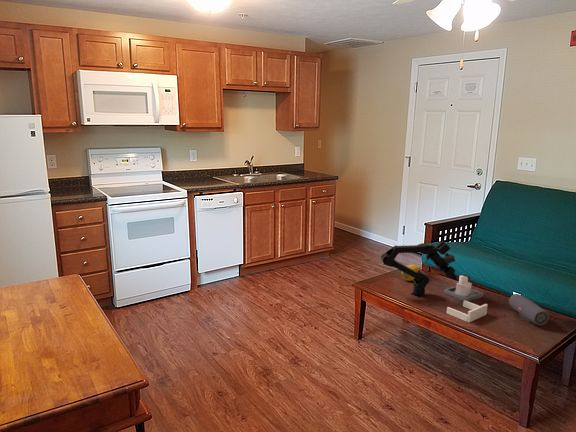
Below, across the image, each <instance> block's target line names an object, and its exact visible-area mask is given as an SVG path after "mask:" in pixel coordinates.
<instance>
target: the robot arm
mask: <svg viewBox="0 0 576 432" xmlns="http://www.w3.org/2000/svg"><path fill="white" fill-rule="evenodd" d="M449 251H451V247H450V246H449V245H448V244H447V243H445V241H444V240H441V241H440V242H439V243H438V244H437V245H436V244H435V245H434V244H430V243H429V242H422V243H419V244H415V245H413V244H412V245H393V246H392V247H391V248H390V249H388V250H387V251H386V252H385V253H383V254H381V256H380V260H381V262H382V263H383V265H385V266H388V267H391V268H395V269H396V270H399V271H401V273H402V272H404V273H406V274H408V275H410V276H412V277H414V278H415V279H413V280H412V282H413V286H412V287H413V288H412V292H411V295H413V296H415V297H417V298H422V297H426V296H427V293H426V288H427V285H428V284H429V283H430V277H429V276H428V275H427V274H426V272H425V271H423V270H418V271H415V270H413V269H411V268H409V267H407V266H408V265H405V264H403V263H402V262H400V261H397V260H396V258H397V256H398V255H399V254H409V253H419V254H422V255H425V257H424V258H425V260H426V261H428V260H430V261H431V262H432V263H433V264H434V265H435V267H436V268H437V269H438V270H439V271H441V272H442V273H443V275H444V276H446V278H450V279H451V280H455V281H457V280H458V277H457V276H456V275H455V274H456V269H455V268H453V266H449V265H450V264H451V263H454V262H456V258H455V256H454V254H451V253H450V254H449V253H448V252H449ZM441 255H442V256H443V257H442V256H441ZM425 293H426V294H425Z"/></svg>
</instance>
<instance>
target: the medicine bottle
mask: <svg viewBox="0 0 576 432" xmlns="http://www.w3.org/2000/svg"><path fill="white" fill-rule="evenodd" d="M458 279H459V280H458V282H456V285H455V286H456V291H455V293H456V294H458V295H461V296H465V297H467V296H468V295H469V294H470V293H471V289H472V282H470V281H471V277H470V276H469V275H467V274H460V275H459V278H458Z"/></svg>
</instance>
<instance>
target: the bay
mask: <svg viewBox="0 0 576 432" xmlns="http://www.w3.org/2000/svg"><path fill="white" fill-rule="evenodd" d="M462 307H464V308H467V309H469V310H468V311H467V313H464V312H462V311H459V310H458V309H454V308H452V307H449V306H447V307H446V314H447V315H450V316H451V317H455V318H457V319H459V320H462V321H464V322H467V323H471V322H473V321H476V320H478V319H480V318H482V317H484V316H487V313H488V307H489V306H488V303H484V304H482V305H479V304H476V303H473V302H471V301H469V302H468V301H465V300H464V301H462Z"/></svg>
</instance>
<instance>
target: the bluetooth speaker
mask: <svg viewBox="0 0 576 432" xmlns="http://www.w3.org/2000/svg"><path fill="white" fill-rule="evenodd" d="M508 305H510V308H512V309H513V310H515V311H516V312H517V313H518V315H520V316H521V318H523V319H525V320H526V321H528V322H530V323H533V324H535V325H537V326H544V325H546V324H547V323H548V321H549V320H550V319H549V318H550V317H549V313H548V312H547V311H546V310H545V309H543V308H542V307H540V306H539V305H538V304H536V303H535V302H534V301H532V300H530V299H529V298H527V297H525V296H523V295H521V294H519V293H514V294H512V295H511V296H510V297H509V299H508Z"/></svg>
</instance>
